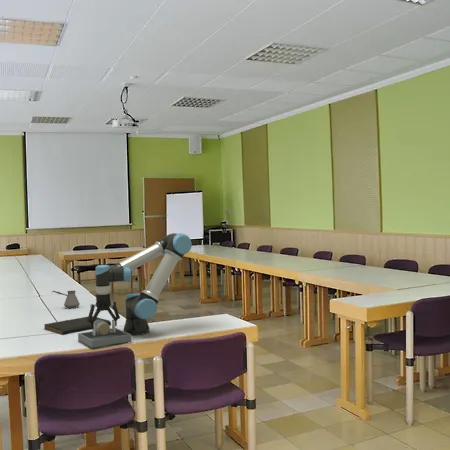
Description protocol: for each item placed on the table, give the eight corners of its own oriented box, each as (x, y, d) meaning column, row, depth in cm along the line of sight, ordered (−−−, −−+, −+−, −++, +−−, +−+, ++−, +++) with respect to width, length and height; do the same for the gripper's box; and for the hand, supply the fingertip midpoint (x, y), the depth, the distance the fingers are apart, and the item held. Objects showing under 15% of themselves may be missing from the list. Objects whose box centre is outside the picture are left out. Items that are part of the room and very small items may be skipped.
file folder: (90, 315, 346) (111, 320, 329) (91, 321, 346) (111, 326, 329) (43, 323, 323) (62, 329, 306) (43, 330, 323) (63, 336, 306)
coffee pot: (75, 305, 407) (74, 286, 407) (82, 307, 398) (81, 288, 398) (49, 309, 393) (48, 290, 393) (55, 311, 384) (54, 291, 384)
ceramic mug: (98, 336, 279) (98, 322, 279) (91, 334, 285) (92, 320, 285) (116, 334, 285) (116, 320, 285) (109, 331, 292) (109, 318, 292)
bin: (115, 335, 301) (115, 327, 301) (131, 342, 283) (131, 334, 282) (78, 341, 289) (78, 333, 288) (92, 349, 270) (91, 340, 270)
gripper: (120, 290, 295) (121, 329, 295) (80, 294, 282) (81, 335, 282) (125, 292, 288) (126, 331, 289) (84, 296, 275) (85, 337, 276)
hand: (104, 333), depth 285 cm, fingers closed on ceramic mug, 11 cm apart
